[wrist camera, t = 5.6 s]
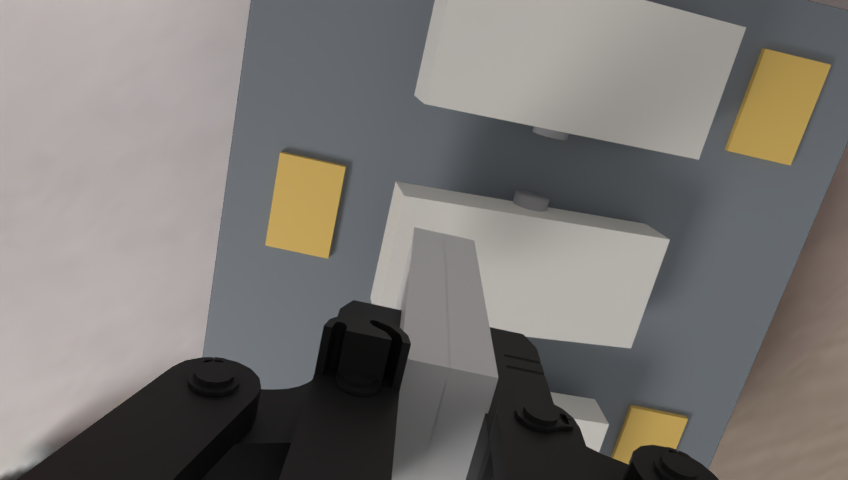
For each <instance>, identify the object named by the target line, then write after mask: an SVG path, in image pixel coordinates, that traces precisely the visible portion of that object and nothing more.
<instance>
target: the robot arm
mask: <svg viewBox="0 0 848 480" xmlns="http://www.w3.org/2000/svg"><path fill="white" fill-rule="evenodd" d="M17 480H719V479H718V478H717V477H716V476H715V475H714V474H713V473H712V472H710V471H709V470H708V469H707V468H706V467H705V466H704V465H703V464H701V463H700V462H698V461H696V460H695V459H693V458H691V457H690V456H689V455H688V454H686V453H684V452H682V451H677V449H673V448H670V447H663V446H657V445H646V446H640V447H639V448H637V449H636V450H634V451H633V453H632V456H631V458H630V461H629V464H626V463H623V462H621V461H618V460H616V459H613V458H611V457H609V456H606V455H604V454H601V453H599V452H597V451H595V450H593V449H591V448H589V447H587V446H586V444H585V441H584V438H583V435H582V432H581V430H580V427H579V426H578V424H577V423H576V421H575V419H574V418H573V417H572V416H570V415H569V414H568V413H567V412H566V411H565V410H563V409H562V408H560V407H558V406H556V405H554V403H553V400H552V396H551V393H550V390H549V387H548V383H547V380H546V377H545V376H544V370H543V367H542V365H541V361H540V358H539V354H538V351H537V348H536V347H535V346H534V345H533V344H532V343H531V342H530V341H529V340H528V339H527V338H526V337H525V336H524V335H523V334H520V333H515V332H510V331H506V330H501V329H496V328H492V327H489V321H488V316H487V310H486V304H485V299H484V293H483V287H482V282H481V276H480V270H479V265H478V259H477V253H476V248H475V242H474V240H471V239H466V238H462V237H457V236H453V235H448V234H443V233H439V232H434V231H430V230H425V229H421V228H416V227H414V230H413V235H412V239H411V243H410V248H409V252H408V256H407V260H406V265H405V269H404V273H403V278H402V282H401V286H400V291H399V295H398V299H397V304H396V308H395V309H393V308H389V307H384V306H379V305H375V304H370V303H365V302H360V301H356V300H353V301H351V302H350V303H348V304H346V305H345V306H343V307H342V308H340V310H339V313H338V316H337V317H334V318H331V319H329V320H328V322H327V323H326V324H325V325H324V327H323V332H322V337H321V342H320V347H319V352H318V358H317V363H316V368H315V373H314V376H313V379H312V380H311V381H310V382H308V383H306V384H303V385H301V386H298V387H293V388H289V389H261V384H260V379H259V377H258V376H257V375H256V373H255V372H254V371H253V370H252V369H251V368H249V367H247V366H245V365H243V364H241V363H239V362H236V361H232V360H227V359H225V358H218V357H215V358H212V357H202V358H197V359H191V360H186V361H184V362H182V363H179V364H177V365H175V366H173V367H171V368H170V369H169V370H167V371H166V372H165V373H163V374H162V375H160V376H159V377H158V378H156V379H155V380H154V381H152V382H151V383H149V384H148V385H147V386H145V387H144V388H142V389H141V390H140V391H138V392H137V393H136V394H134V395H133V396H131V397H130V398H129V399H127V400H126V401H125V402H123V403H122V404H120V405H119V406H118V407H116V408H115V409H114V410H112V411H111V412H109V413H108V414H107V415H105V416H104V417H103V418H101V419H100V420H98V421H97V422H96V423H94V424H93V425H91V426H90V427H89V428H87V429H86V430H85V431H83V432H82V433H80V434H79V435H78V436H76V437H75V438H74V439H72V440H71V441H69V442H68V443H67V444H65V445H64V446H63V447H61V448H60V449H58V450H57V451H56V452H54V453H53V454H52V455H50V456H49V457H47V458H46V459H45V460H43V461H42V462H41V463H39V464H38V465H36V466H35V467H34V468H32V469H31V470H29V471H28V472H27V473H25V474H24V475H23V476H21V477H20V478H18V479H17Z"/></svg>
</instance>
